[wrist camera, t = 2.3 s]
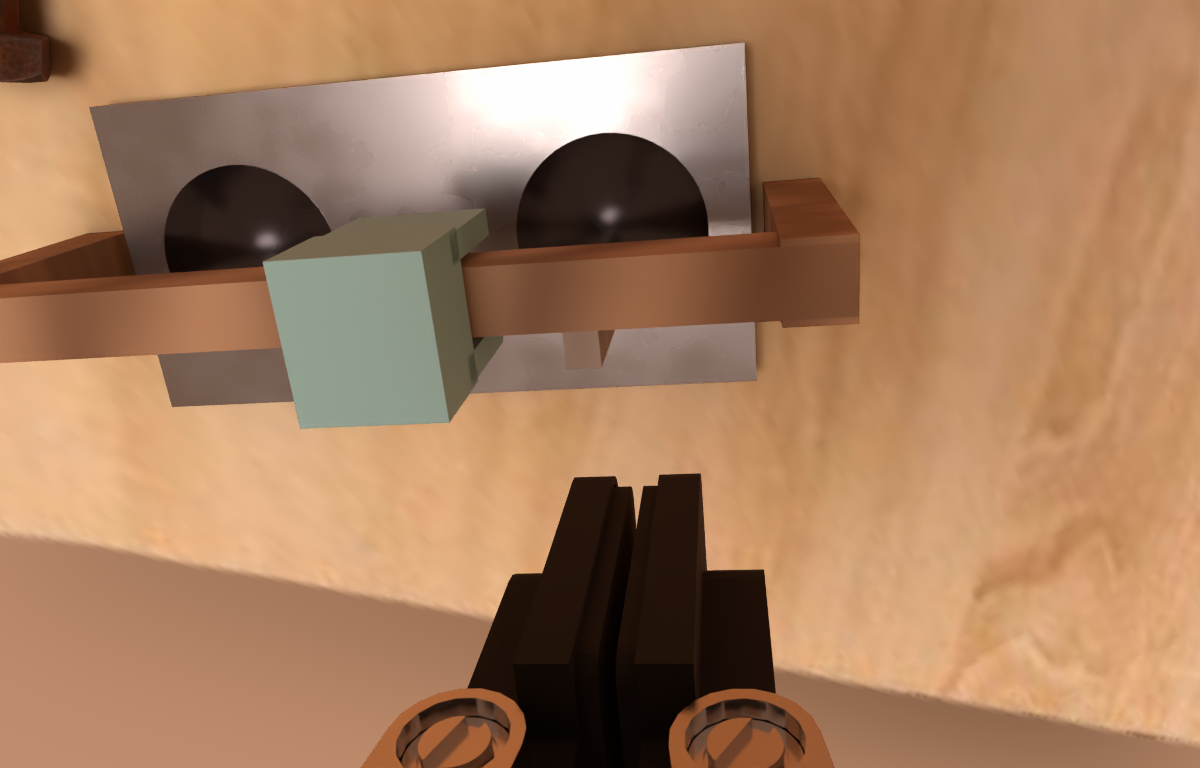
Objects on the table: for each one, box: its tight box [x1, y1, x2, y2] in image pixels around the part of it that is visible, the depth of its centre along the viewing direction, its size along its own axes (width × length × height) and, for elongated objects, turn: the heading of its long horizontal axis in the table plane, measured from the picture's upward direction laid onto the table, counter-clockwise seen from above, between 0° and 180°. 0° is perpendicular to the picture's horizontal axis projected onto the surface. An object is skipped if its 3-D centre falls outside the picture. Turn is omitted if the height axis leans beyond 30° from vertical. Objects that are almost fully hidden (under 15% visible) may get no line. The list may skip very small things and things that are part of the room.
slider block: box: [263, 208, 503, 429], centre depth 28 cm, size 4×4×12 cm
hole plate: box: [89, 42, 757, 407], centre depth 34 cm, size 24×12×1 cm, turn 95°
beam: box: [0, 178, 860, 370], centre depth 31 cm, size 29×3×10 cm, turn 95°
